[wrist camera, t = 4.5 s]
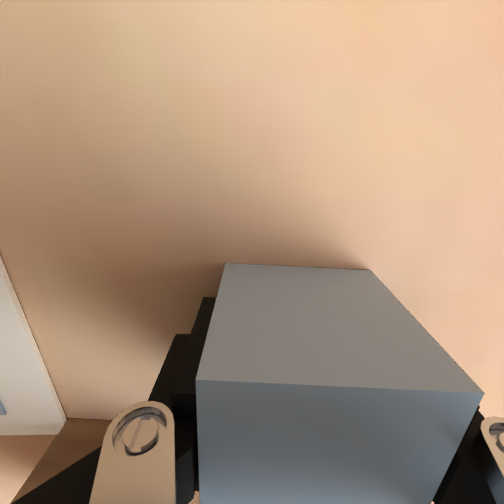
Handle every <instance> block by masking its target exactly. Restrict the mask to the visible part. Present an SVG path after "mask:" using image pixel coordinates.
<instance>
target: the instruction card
mask: <svg viewBox="0 0 504 504" xmlns="http://www.w3.org/2000/svg"><path fill="white" fill-rule="evenodd" d="M66 422H67V419H66V416H65V414H64V411H63V409H62V406H61V404H60V401H59V399H58V396H57V394H56V392H55V389H54V387H53V384H52V382H51V379H50V377H49V374H48V372H47V369H46V367H45V364H44V362H43V360H42V357H41V355H40V352H39V350H38V347H37V345H36V342H35V340H34V337H33V335H32V332H31V330H30V328H29V325H28V323H27V320H26V318H25V315H24V313H23V310H22V308H21V305H20V303H19V300H18V298H17V296H16V293H15V291H14V288H13V286H12V283H11V281H10V278H9V276H8V273H7V271H6V269H5V266H4V264H3V261H2V259H1V256H0V436H1V435H58V433H59V432H60V430H61V429H62V428H63V426H64V425H65V423H66Z"/></svg>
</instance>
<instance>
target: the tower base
mask: <svg viewBox="0 0 504 504" xmlns="http://www.w3.org/2000/svg"><path fill="white" fill-rule="evenodd" d="M112 421H113V420H95V419H75V418H69V419H68V420H67V422H66V423H65V425H64V426H63V428H62V429H61V430H60V432H59V433H58V435H57V436H56V438H55V439H54V441H53V442H52V444H51V445H50V447H49V448H48V449H47V451H46V452H45V454H44V455H43V457H42V458H41V460H40V461H39V463H38V464H37V466H36V467H35V468H34V470H33V471H32V473H31V474H30V476H29V477H28V479H27V480H26V482H25V483H24V485H23V486H22V487H21V489H20V490H19V492H18V493H17V495H16V496H15V498H14V499H13V501H12V502H11V503H13V502H14V501H16V500H18V499H19V498H21V497H22V496H24V495H25V494H27V493H28V492H30V491H32V490H33V489H35V488H36V487H38V486H39V485H41V484H42V483H44V482H46V481H47V480H49V479H50V478H52V477H53V476H55V475H56V474H58V473H60V472H61V471H63V470H64V469H66V468H67V467H69V466H70V465H72V464H74V463H75V462H77V461H78V460H80V459H81V458H83V457H84V456H86V455H88V454H89V453H91V452H92V451H94V450H95V449H97V448H99V447H100V446H102V444H103V440H104V436H105V434H106V431H107V429H108V426H109V425H110V424H111V422H112ZM11 503H10V504H11Z"/></svg>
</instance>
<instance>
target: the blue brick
mask: <svg viewBox="0 0 504 504" xmlns="http://www.w3.org/2000/svg"><path fill="white" fill-rule="evenodd" d="M483 395H484V392H483V391H482V390H481V389H480V388H479V387H478V386H477V385H476V383H475V382H474V381H473V380H472V379H471V378H470V377H469V376H468V375H467V374H466V373H465V372H464V370H463V369H462V368H461V367H460V366H459V365H458V364H457V363H456V362H455V361H454V360H453V359H452V358H451V356H450V355H449V354H448V353H447V352H446V351H445V350H444V349H443V348H442V347H441V346H440V345H439V343H438V342H437V341H436V340H435V339H434V338H433V337H432V336H431V335H430V334H429V333H428V332H427V331H426V329H425V328H424V327H423V326H422V325H421V324H420V323H419V322H418V321H417V320H416V319H415V318H414V316H413V315H412V314H411V313H410V312H409V311H408V310H407V309H406V308H405V307H404V306H403V305H402V304H401V302H400V301H399V300H398V299H397V298H396V297H395V296H394V295H393V294H392V293H391V292H390V291H389V289H388V288H387V287H386V286H385V285H384V284H383V283H382V282H381V281H380V280H379V279H378V278H377V277H376V275H375V274H374V273H373V272H372V271H371V270H358V269H337V268H317V267H297V266H277V265H256V264H236V263H225V267H224V271H223V275H222V278H221V282H220V286H219V290H218V294H217V298H216V302H215V306H214V310H213V314H212V317H211V321H210V325H209V329H208V333H207V337H206V341H205V345H204V349H203V353H202V356H201V360H200V364H199V368H198V372H197V376H196V406H197V435H198V463H199V491H200V504H431V502H432V500H433V498H434V496H435V494H436V492H437V490H438V488H439V486H440V484H441V481H442V479H443V477H444V475H445V473H446V471H447V469H448V467H449V465H450V463H451V461H452V459H453V457H454V455H455V453H456V451H457V449H458V446H459V444H460V442H461V440H462V438H463V436H464V434H465V432H466V430H467V428H468V426H469V424H470V422H471V420H472V418H473V416H474V414H475V411H476V409H477V407H478V405H479V403H480V401H481V399H482V397H483Z"/></svg>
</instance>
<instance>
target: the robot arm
mask: <svg viewBox="0 0 504 504" xmlns="http://www.w3.org/2000/svg"><path fill="white" fill-rule="evenodd" d="M215 302H216V298H212V297H204V298H203V300H202V303H201V306H200V309H199V312H198V315H197V318H196V321H195V323H194V326H193V329H192V332H191V334H177V335H176V336H175V338H174V340H173V342H172V345H171V347H170V349H169V352H168V354H167V356H166V359H165V361H164V363H163V366H162V368H161V371H160V373H159V375H158V378H157V380H156V382H155V385H154V387H153V390H152V392H151V394H150V397H149V399H148V401H144V402H140V403H137V404H134V405H132V406H130V407H128V408H126V409H125V410H123V411H122V412H121V413H120V414H119V415H117V416H116V417H115V418H114V420H113V421H112V422H111V424H110V425H109V426H108V429H107V431H106V434H105V436H104V440H103V444H102V446H100V447H99V448H97V449H95V450H94V451H92V452H91V453H89V454H88V455H86V456H84V457H83V458H81V459H80V460H78V461H77V462H75V463H74V464H72V465H70V466H69V467H67V468H66V469H64V470H63V471H61V472H60V473H58V474H56V475H55V476H53V477H52V478H50V479H49V480H47V481H46V482H44V483H42V484H41V485H39V486H38V487H36V488H35V489H33V490H32V491H30V492H28V493H27V494H25V495H24V496H22V497H21V498H19V499H18V500H16V501H14V502H13V503H11V504H188V503H189V502H190V501H191V500H192V499H193V498H194V492H195V491H199V463H198V435H197V406H196V376H197V372H198V368H199V364H200V360H201V356H202V353H203V349H204V345H205V341H206V337H207V333H208V329H209V325H210V321H211V317H212V314H213V310H214V306H215ZM479 408H480V406H479V405H478V407H477V409H476V411H475V414H474V416H473V418H472V420H471V422H470V424H469V426H468V428H467V430H466V432H465V434H464V436H463V438H462V440H461V442H460V444H459V446H458V449H457V451H456V453H455V455H454V457H453V459H452V461H451V463H450V465H449V467H448V469H447V471H446V473H445V475H444V477H443V479H442V481H441V484H440V486H439V488H438V490H437V492H436V494H435V496H434V498H433V500H432V501H433V502H434V504H504V418H501V417H488V418H484V417H483V415H482V414H481V413H480V412H479V411H478V410H479Z"/></svg>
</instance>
